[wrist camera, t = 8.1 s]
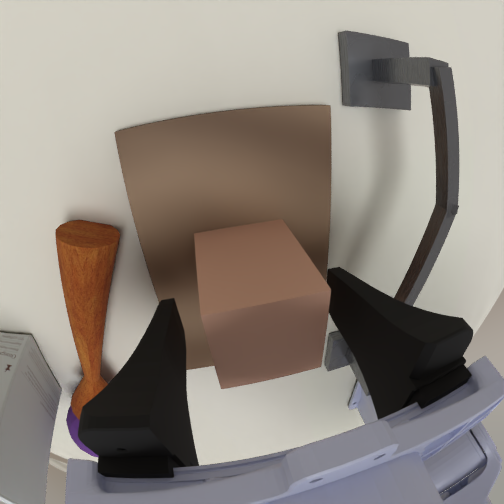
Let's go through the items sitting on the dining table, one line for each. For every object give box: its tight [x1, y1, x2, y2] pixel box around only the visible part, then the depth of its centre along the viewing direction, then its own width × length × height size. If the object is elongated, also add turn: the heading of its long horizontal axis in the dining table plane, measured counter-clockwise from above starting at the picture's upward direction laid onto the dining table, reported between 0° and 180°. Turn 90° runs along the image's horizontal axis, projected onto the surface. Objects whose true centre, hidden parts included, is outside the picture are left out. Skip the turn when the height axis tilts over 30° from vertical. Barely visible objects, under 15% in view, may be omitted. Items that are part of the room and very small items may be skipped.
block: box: [194, 219, 331, 389], centre depth 13 cm, size 4×4×6 cm
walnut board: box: [115, 105, 331, 370], centre depth 16 cm, size 16×10×1 cm, turn 5°
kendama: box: [56, 220, 120, 457], centre depth 16 cm, size 6×6×20 cm
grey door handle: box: [325, 31, 459, 396], centre depth 15 cm, size 24×4×5 cm, turn 5°
